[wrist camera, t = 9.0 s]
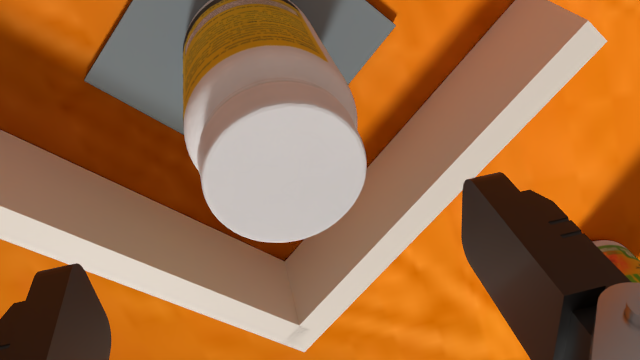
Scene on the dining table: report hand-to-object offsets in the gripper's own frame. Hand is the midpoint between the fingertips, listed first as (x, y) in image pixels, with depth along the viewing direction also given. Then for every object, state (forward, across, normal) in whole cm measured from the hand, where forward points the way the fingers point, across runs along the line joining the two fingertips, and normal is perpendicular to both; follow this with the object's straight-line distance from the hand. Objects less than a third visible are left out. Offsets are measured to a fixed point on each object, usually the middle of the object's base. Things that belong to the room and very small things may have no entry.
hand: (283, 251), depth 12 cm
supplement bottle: (+10, 0, -1) cm, 11 cm away
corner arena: (+11, 0, -1) cm, 11 cm away
